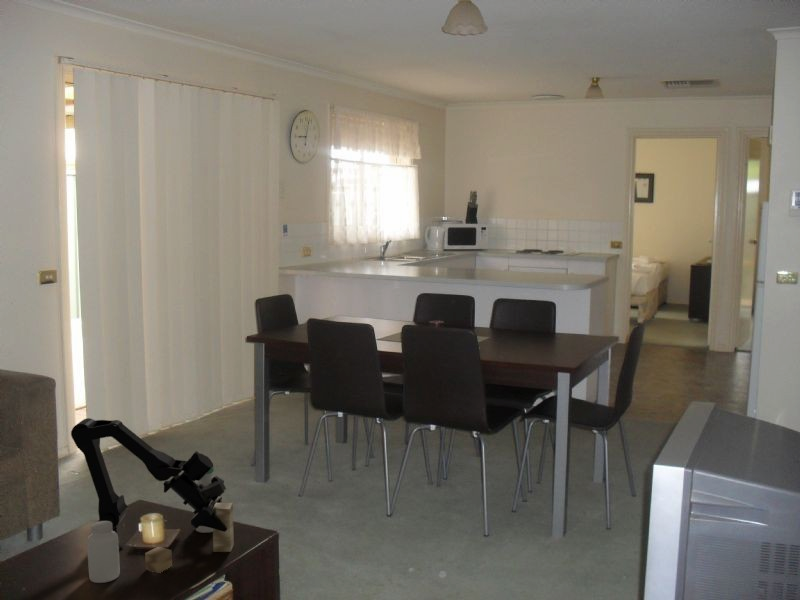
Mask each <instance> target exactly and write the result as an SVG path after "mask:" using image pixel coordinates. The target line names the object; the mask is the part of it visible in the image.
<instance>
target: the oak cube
mask: <svg viewBox="0 0 800 600" xmlns="http://www.w3.org/2000/svg"><path fill="white" fill-rule="evenodd" d="M144 555H145V556H144V557H145V558H144V559H145V570H146V569H147V570H149V571H148V572H151V571H153V572H152V573H154V572H156V573H155V574H157V573H160V574H161V572H162V573H163V571H164V570H166V569H167V570H169V569H170V567H171V566H172V567H173V551H172V549H168V548H165V547H162V546H157V547H154V548H152V549H151V550H148V551H147V552H145V553H144ZM172 567H171V568H172ZM168 568H169V569H168ZM147 570H146V571H147ZM167 570H166V571H167ZM164 572H165V571H164Z"/></svg>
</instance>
